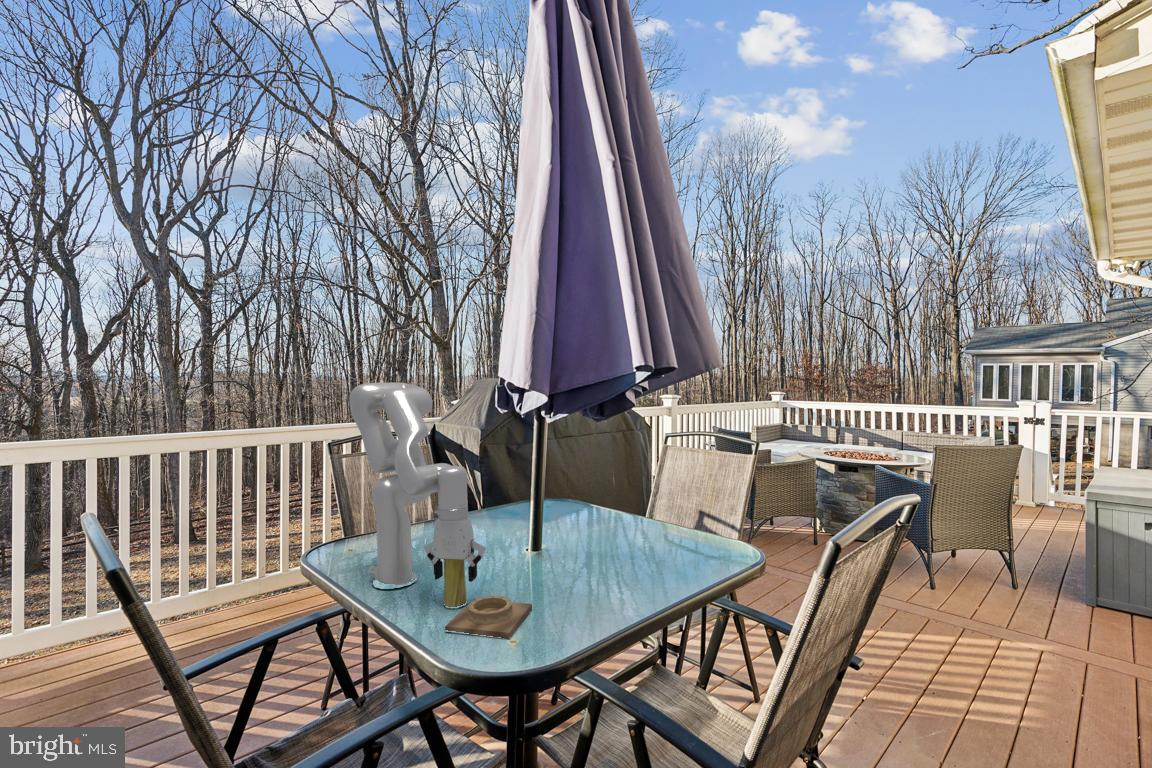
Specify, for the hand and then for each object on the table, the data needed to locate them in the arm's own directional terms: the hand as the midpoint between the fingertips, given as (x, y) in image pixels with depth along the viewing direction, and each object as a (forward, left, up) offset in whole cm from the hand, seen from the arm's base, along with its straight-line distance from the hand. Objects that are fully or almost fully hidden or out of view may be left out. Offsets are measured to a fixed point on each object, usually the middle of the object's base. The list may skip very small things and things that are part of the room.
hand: (455, 578), depth 141 cm
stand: (+13, -7, -7) cm, 16 cm away
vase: (0, 0, -7) cm, 7 cm away
